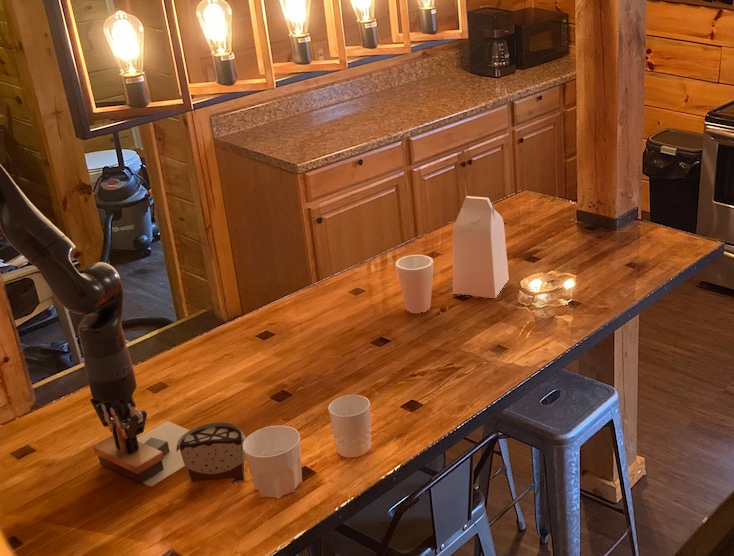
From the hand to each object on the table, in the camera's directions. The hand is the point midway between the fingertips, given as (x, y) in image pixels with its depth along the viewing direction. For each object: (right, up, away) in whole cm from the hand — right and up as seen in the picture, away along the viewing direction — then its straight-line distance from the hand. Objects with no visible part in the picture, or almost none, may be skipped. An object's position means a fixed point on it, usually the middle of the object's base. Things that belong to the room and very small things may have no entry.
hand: (127, 449), depth 179 cm
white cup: (+40, -2, +10) cm, 41 cm away
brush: (0, -4, +2) cm, 4 cm away
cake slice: (+17, -5, +2) cm, 18 cm away
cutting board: (+3, -3, +7) cm, 8 cm away
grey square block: (+2, -2, +6) cm, 6 cm away
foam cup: (+42, +23, +67) cm, 82 cm away
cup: (+29, -7, -1) cm, 30 cm away
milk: (+57, +28, +78) cm, 101 cm away
